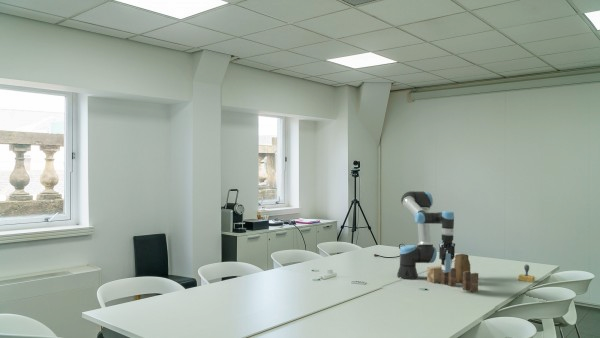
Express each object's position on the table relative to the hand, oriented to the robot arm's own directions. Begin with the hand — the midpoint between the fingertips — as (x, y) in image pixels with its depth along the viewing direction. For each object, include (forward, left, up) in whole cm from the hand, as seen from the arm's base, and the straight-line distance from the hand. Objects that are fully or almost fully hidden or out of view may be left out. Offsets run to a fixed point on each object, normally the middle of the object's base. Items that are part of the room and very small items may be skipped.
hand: (446, 269), depth 308 cm
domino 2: (-12, +13, -14) cm, 22 cm away
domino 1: (0, 0, -2) cm, 2 cm away
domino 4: (+6, +13, -14) cm, 20 cm away
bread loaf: (-9, +28, -14) cm, 32 cm away
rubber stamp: (+10, +76, -14) cm, 78 cm away
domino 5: (+12, +13, -14) cm, 22 cm away
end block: (-20, +13, -14) cm, 27 cm away
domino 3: (-6, +13, -14) cm, 20 cm away
